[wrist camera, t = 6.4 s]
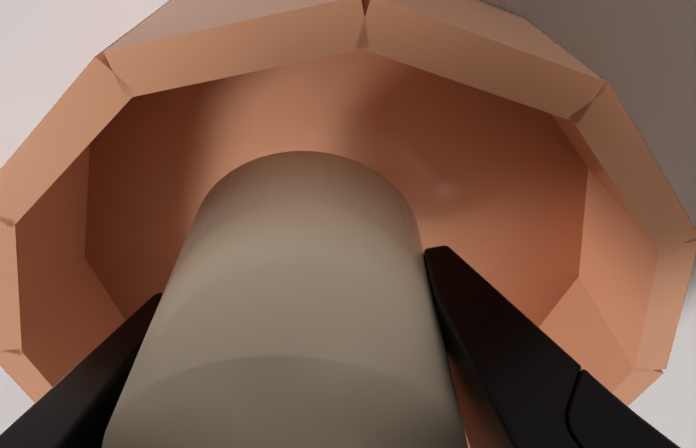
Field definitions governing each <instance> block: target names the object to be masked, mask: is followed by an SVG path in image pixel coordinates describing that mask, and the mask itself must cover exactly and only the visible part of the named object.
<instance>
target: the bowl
mask: <svg viewBox="0 0 696 448" xmlns="http://www.w3.org/2000/svg"><path fill="white" fill-rule="evenodd" d="M289 151H315V152H324V153H330V154H334V155H339V156H343V157H346V158H348V159H351V160H354V161H357V162H359V163H361V164H363V165H365V166H367V167H369V168H371V169H373V170H374V171H376V172H377V173H379V174H380V175H382V176H383V177H385V178H386V179H387V180H388V181H389V182H390V183H391V184H393V185H394V186H395V187H396V188H397V189H398V191H399V192H400V193H401V194H402V195H403V197H404V198H405V199H406V201H407V202H408V204H409V206H410V207H411V209H412V211H413V213H414V216H415V218H416V221H417V224H418V229H419V233H420V237H421V242H422V246H423V250H425V249H427V248H432V247H438V246H444V245H446V246H448V247H450V248H451V249H452V250H453V251H454V252H455V253H456V254H458V255H459V256H460V257H461V258H462V259H463V260H464V261H465V262H466V263H468V264H469V265H470V266H471V267H472V268H473V269H474V270H475V271H476V272H478V273H479V274H480V275H481V276H482V277H483V278H484V279H485V280H486V281H488V282H489V283H490V284H491V285H492V286H493V287H494V288H495V289H496V290H498V291H499V292H500V293H501V294H502V295H503V296H504V297H505V298H506V299H507V300H509V301H510V302H511V303H512V304H513V305H514V306H515V307H516V308H517V309H519V310H520V311H521V312H522V313H523V314H524V315H525V316H526V317H527V318H529V319H530V320H531V321H532V322H533V323H534V324H535V325H536V326H537V327H539V328H540V329H541V330H542V331H543V332H544V333H545V334H546V335H547V336H549V337H550V338H551V339H552V340H553V341H554V342H555V343H556V344H557V345H559V346H560V347H561V348H562V349H563V350H564V351H565V352H566V353H567V354H569V355H570V356H571V357H572V358H573V359H574V360H575V361H576V362H577V363H579V364H580V365H581V367H582V370H583V369H585V370H587V371H588V372H589V373H590V374H591V375H592V376H593V377H594V378H595V379H597V380H598V381H599V382H600V383H601V384H602V385H603V386H604V387H605V388H607V389H608V390H609V391H610V392H611V393H612V394H614V395H615V396H616V397H617V398H618V399H619V400H621V401H622V402H623V403H624V404H625V405H626V406H628V405H629V404H631V403H632V402H633V401H634V400H635V399H636V398H637V397H638V396H639V395H640V394H641V393H642V392H643V391H645V390H646V389H647V388H648V387H649V386H650V385H651V384H652V383H653V382H654V381H655V380H656V379H657V378H659V377H660V376H661V375H662V374H663V372H662V370H661V369H666V367H667V364H668V360H669V356H670V352H671V348H672V344H673V341H674V337H675V333H676V329H677V325H678V321H679V318H680V314H681V310H682V306H683V302H684V298H685V295H686V291H687V287H688V283H689V279H690V275H691V272H692V268H693V264H694V260H695V256H696V229H695V227H694V226H693V224H692V222H691V221H690V219H689V217H688V216H687V214H686V212H685V210H684V209H683V207H682V205H681V204H680V202H679V200H678V198H677V197H676V195H675V193H674V192H673V190H672V188H671V186H670V185H669V183H668V181H667V180H666V178H665V176H664V174H663V173H662V171H661V169H660V168H659V166H658V164H657V162H656V161H655V159H654V157H653V156H652V154H651V152H650V150H649V149H648V147H647V145H646V144H645V142H644V140H643V139H642V137H641V135H640V133H639V132H638V130H637V128H636V127H635V125H634V123H633V121H632V120H631V118H630V116H629V115H628V113H627V111H626V109H625V108H624V106H623V104H622V103H621V101H620V99H619V97H618V96H617V94H616V92H615V91H614V89H613V87H612V86H611V85H609V84H608V83H607V82H606V81H604V80H603V79H602V78H601V77H599V76H598V75H597V74H595V73H594V72H593V71H592V70H590V69H589V68H588V67H586V66H585V65H584V64H582V63H581V62H580V61H579V60H577V59H576V58H575V57H573V56H572V55H571V54H570V53H568V52H567V51H566V50H564V49H563V48H562V47H561V46H559V45H558V44H557V43H555V42H554V41H553V40H552V39H550V38H549V37H548V36H546V35H545V34H544V33H542V32H541V31H540V30H539V29H537V28H536V27H535V26H533V25H532V24H531V23H530V22H528V21H527V20H526V19H524V18H523V17H520V16H517V15H515V14H512V13H509V12H507V11H504V10H502V9H499V8H496V7H494V6H491V5H488V4H486V3H483V2H481V1H478V0H170V1H169V2H167V3H166V4H165V5H163V6H162V7H161V8H159V9H158V10H157V11H155V12H154V13H153V14H151V15H150V16H149V17H147V18H146V19H145V20H143V21H142V22H141V23H139V24H138V25H137V26H135V27H134V28H133V29H131V30H130V31H129V32H127V33H126V34H125V35H123V36H122V37H121V38H119V39H118V40H117V41H115V42H114V43H113V44H111V45H110V46H109V47H107V48H106V49H105V50H103V51H102V52H101V53H99V54H98V55H97V56H95V57H94V58H93V60H92V61H91V62H90V63H89V64H88V66H87V67H86V68H85V69H84V70H83V72H82V73H81V74H80V75H79V76H78V78H77V79H76V80H75V81H74V82H73V84H72V85H71V86H70V87H69V88H68V89H67V91H66V92H65V93H64V94H63V95H62V97H61V98H60V99H59V100H58V101H57V103H56V104H55V105H54V106H53V107H52V109H51V110H50V111H49V112H48V113H47V115H46V116H45V117H44V118H43V119H42V121H41V122H40V123H39V124H38V125H37V127H36V128H35V129H34V130H33V131H32V132H31V134H30V135H29V136H28V137H27V138H26V140H25V141H24V142H23V143H22V144H21V146H20V147H19V148H18V149H17V150H16V152H15V153H14V154H13V155H12V156H11V158H10V159H9V160H8V161H7V162H6V164H5V165H4V166H3V167H2V168H1V170H0V366H1V367H2V368H3V369H4V370H5V371H6V372H7V373H8V374H9V375H10V377H11V378H12V379H13V380H14V381H15V382H16V383H17V384H18V385H19V386H20V387H21V388H22V390H23V391H24V392H25V393H26V394H27V395H28V396H29V397H30V398H31V399H32V400H33V401H34V402H35V403H36V402H37V401H38V400H39V399H41V398H42V397H43V396H44V395H45V394H46V393H47V392H48V391H49V390H50V389H51V388H53V387H54V386H55V385H56V384H57V383H58V382H59V381H60V380H61V379H62V378H64V377H65V376H66V375H67V374H68V373H69V372H70V371H71V370H72V369H73V368H74V367H76V366H77V365H78V364H79V363H80V362H81V361H82V360H83V359H84V358H85V357H87V356H88V355H89V354H90V353H91V352H92V351H93V350H94V349H95V348H96V347H98V346H99V345H100V344H101V343H102V342H103V341H104V340H105V339H106V338H107V337H108V336H110V335H111V334H112V333H113V332H114V331H115V330H116V329H117V328H118V327H119V326H121V325H122V324H123V323H124V322H125V321H126V320H127V319H128V318H129V317H130V316H131V315H133V314H134V313H135V312H136V311H137V310H138V309H139V308H140V307H141V306H142V305H144V304H145V303H146V302H147V301H148V300H149V299H150V298H151V297H152V296H153V295H155V294H157V293H161V292H164V290H165V288H166V285H167V283H168V281H169V278H170V276H171V273H172V271H173V269H174V266H175V264H176V261H177V259H178V257H179V254H180V252H181V250H182V247H183V245H184V242H185V240H186V238H187V235H188V233H189V230H190V228H191V226H192V223H193V221H194V219H195V216H196V214H197V212H198V209H199V207H200V205H201V203H202V201H203V200H204V198H205V197H206V195H207V194H208V192H209V191H210V190H211V189H212V188H213V186H214V185H215V184H216V183H217V182H218V181H219V180H220V179H222V178H223V177H224V176H226V175H227V174H228V173H229V172H231V171H232V170H234V169H236V168H238V167H239V166H241V165H243V164H245V163H247V162H249V161H252V160H254V159H257V158H259V157H263V156H267V155H271V154H275V153H282V152H289ZM464 431H465V430H464ZM465 435H466V433H465ZM466 439H467V436H466ZM467 444H468V448H470V445H469V442H468V439H467Z"/></svg>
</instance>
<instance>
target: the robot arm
mask: <svg viewBox="0 0 696 448" xmlns="http://www.w3.org/2000/svg"><path fill="white" fill-rule="evenodd" d="M424 257H425V262H426V266H427V270H428V275H429V279H430V284H431V288H432V293H433V297H434V301H435V306H436V310H437V314H438V317H439V321H440V326H441V330H442V334H443V338H444V343H445V347H446V352H447V356H448V360H449V365H450V369H451V374H452V378H453V382H454V387H455V391H456V396H457V400H458V404H459V409H460V413H461V418H462V422H463V426H464V430H465V433H466V436H467V439H468V442H469V445H470V448H680V447H679V446H677V445H676V444H675V443H673V442H672V441H671V440H669V439H668V438H667V437H666V436H664V435H663V434H662V433H660V432H659V431H658V430H656V429H655V428H654V427H653V426H651V425H650V424H649V423H647V422H646V421H645V420H643V419H642V418H641V417H640V416H638V415H637V414H636V413H635V412H633V411H632V410H631V409H630V408H629V407H628V406H626V405H625V404H624V403H623V402H622V401H621V400H619V399H618V398H617V397H616V396H615V395H614V394H612V393H611V392H610V391H609V390H608V389H607V388H605V387H604V386H603V385H602V384H601V383H600V382H599V381H598V380H597V379H595V378H594V377H593V376H592V375H591V374H590V373H589V372H588V371H587V370H585V369H583V370H582V367H581V365H580V364H579V363H577V362H576V361H575V360H574V359H573V358H572V357H571V356H570V355H569V354H567V353H566V352H565V351H564V350H563V349H562V348H561V347H560V346H559V345H557V344H556V343H555V342H554V341H553V340H552V339H551V338H550V337H549V336H547V335H546V334H545V333H544V332H543V331H542V330H541V329H540V328H539V327H537V326H536V325H535V324H534V323H533V322H532V321H531V320H530V319H529V318H527V317H526V316H525V315H524V314H523V313H522V312H521V311H520V310H519V309H517V308H516V307H515V306H514V305H513V304H512V303H511V302H510V301H509V300H507V299H506V298H505V297H504V296H503V295H502V294H501V293H500V292H499V291H498V290H496V289H495V288H494V287H493V286H492V285H491V284H490V283H489V282H488V281H486V280H485V279H484V278H483V277H482V276H481V275H480V274H479V273H478V272H476V271H475V270H474V269H473V268H472V267H471V266H470V265H469V264H468V263H466V262H465V261H464V260H463V259H462V258H461V257H460V256H459V255H458V254H456V253H455V252H454V251H453V250H452V249H451V248H450V247H448V246H446V245H444V246H438V247H432V248H427V249H425V250H424ZM162 295H163V292H161V293H157V294H155V295H153V296H152V297H151V298H150V299H149V300H148V301H147V302H146V303H145V304H144V305H142V306H141V307H140V308H139V309H138V310H137V311H136V312H135V313H134V314H133V315H131V316H130V317H129V318H128V319H127V320H126V321H125V322H124V323H123V324H122V325H121V326H119V327H118V328H117V329H116V330H115V331H114V332H113V333H112V334H111V335H110V336H108V337H107V338H106V339H105V340H104V341H103V342H102V343H101V344H100V345H99V346H98V347H96V348H95V349H94V350H93V351H92V352H91V353H90V354H89V355H88V356H87V357H85V358H84V359H83V360H82V361H81V362H80V363H79V364H78V365H77V366H76V367H74V368H73V369H72V370H71V371H70V372H69V373H68V374H67V375H66V376H65V377H64V378H62V379H61V380H60V381H59V382H58V383H57V384H56V385H55V386H54V387H53V388H51V389H50V390H49V391H48V392H47V393H46V394H45V395H44V396H43V397H42V398H41V399H39V400H38V401H37V402H36V403H35V404H34V405H33V406H32V407H31V408H30V409H28V410H27V411H26V412H25V413H24V414H23V415H22V416H21V417H20V418H19V419H17V420H16V421H15V422H14V423H13V424H12V425H11V426H10V427H9V428H8V429H7V430H5V431H4V432H3V433H2V434H1V435H0V448H102V443H103V438H104V434H105V431H106V428H107V426H108V424H109V421H110V419H111V416H112V414H113V412H114V409H115V407H116V405H117V402H118V400H119V397H120V395H121V393H122V390H123V388H124V385H125V383H126V381H127V378H128V376H129V374H130V371H131V369H132V366H133V364H134V362H135V359H136V357H137V354H138V352H139V350H140V347H141V345H142V343H143V340H144V338H145V335H146V333H147V331H148V328H149V326H150V323H151V321H152V319H153V316H154V314H155V312H156V309H157V307H158V304H159V302H160V300H161V297H162Z"/></svg>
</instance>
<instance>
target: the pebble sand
mask: <svg viewBox="0 0 696 448" xmlns="http://www.w3.org/2000/svg"><path fill="white" fill-rule="evenodd" d="M102 448H468V444H467V439H466V435H465V431H464V426H463V422H462V418H461V413H460V409H459V404H458V400H457V396H456V391H455V387H454V382H453V378H452V374H451V369H450V365H449V360H448V356H447V352H446V347H445V343H444V338H443V334H442V330H441V326H440V321H439V317H438V314H437V310H436V306H435V301H434V297H433V293H432V288H431V284H430V279H429V275H428V270H427V266H426V262H425V257H424V250H423V246H422V242H421V237H420V233H419V229H418V224H417V221H416V218H415V216H414V213H413V211H412V209H411V207H410V206H409V204H408V202H407V201H406V199H405V198H404V197H403V195H402V194H401V193H400V192H399V191H398V189H397V188H396V187H395V186H394V185H393V184H391V183H390V182H389V181H388V180H387V179H386V178H385V177H383V176H382V175H380V174H379V173H377V172H376V171H374V170H373V169H371V168H369V167H367V166H365V165H363V164H361V163H359V162H357V161H354V160H351V159H348V158H346V157H343V156H339V155H334V154H330V153H324V152H315V151H289V152H282V153H275V154H271V155H267V156H263V157H259V158H257V159H254V160H252V161H249V162H247V163H245V164H243V165H241V166H239V167H238V168H236V169H234V170H232V171H231V172H229V173H228V174H227V175H226V176H224V177H223V178H222V179H220V180H219V181H218V182H217V183H216V184H215V185H214V186H213V188H212V189H211V190H210V191H209V192H208V194H207V195H206V197H205V198H204V200H203V201H202V203H201V205H200V207H199V209H198V212H197V214H196V216H195V219H194V221H193V223H192V226H191V228H190V230H189V233H188V235H187V238H186V240H185V242H184V245H183V247H182V250H181V252H180V254H179V257H178V259H177V261H176V264H175V266H174V269H173V271H172V273H171V276H170V278H169V281H168V283H167V285H166V288H165V290H164V292H163V295H162V297H161V300H160V302H159V304H158V307H157V309H156V312H155V314H154V316H153V319H152V321H151V323H150V326H149V328H148V331H147V333H146V335H145V338H144V340H143V343H142V345H141V347H140V350H139V352H138V354H137V357H136V359H135V362H134V364H133V366H132V369H131V371H130V374H129V376H128V378H127V381H126V383H125V385H124V388H123V390H122V393H121V395H120V397H119V400H118V402H117V405H116V407H115V409H114V412H113V414H112V416H111V419H110V421H109V424H108V426H107V428H106V431H105V434H104V438H103V443H102Z"/></svg>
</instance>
